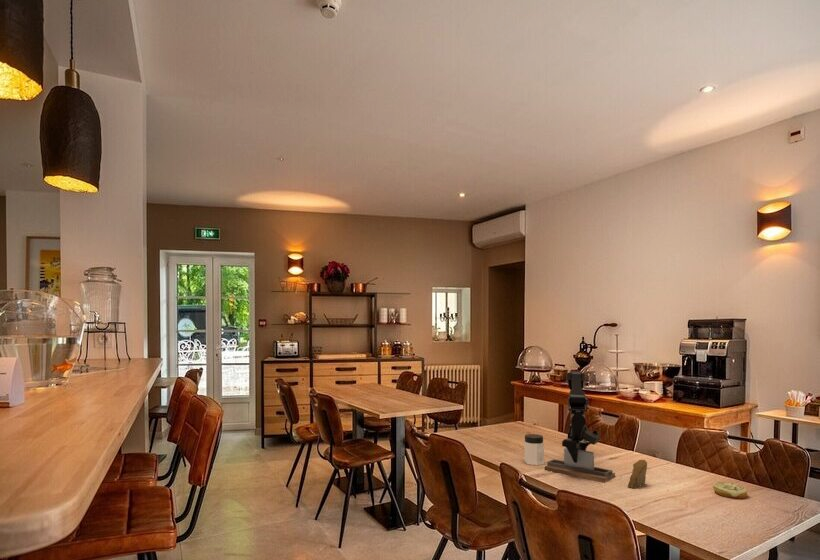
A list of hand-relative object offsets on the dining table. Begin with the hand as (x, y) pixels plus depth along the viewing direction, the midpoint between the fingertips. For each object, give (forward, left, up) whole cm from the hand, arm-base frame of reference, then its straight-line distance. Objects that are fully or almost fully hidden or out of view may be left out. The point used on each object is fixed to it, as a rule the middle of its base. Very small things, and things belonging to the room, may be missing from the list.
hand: (578, 461), depth 220 cm
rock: (0, +23, -5) cm, 24 cm away
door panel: (0, 0, -4) cm, 4 cm away
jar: (-2, -22, -5) cm, 23 cm away
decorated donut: (-12, +53, -5) cm, 55 cm away
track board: (0, 0, -5) cm, 5 cm away
